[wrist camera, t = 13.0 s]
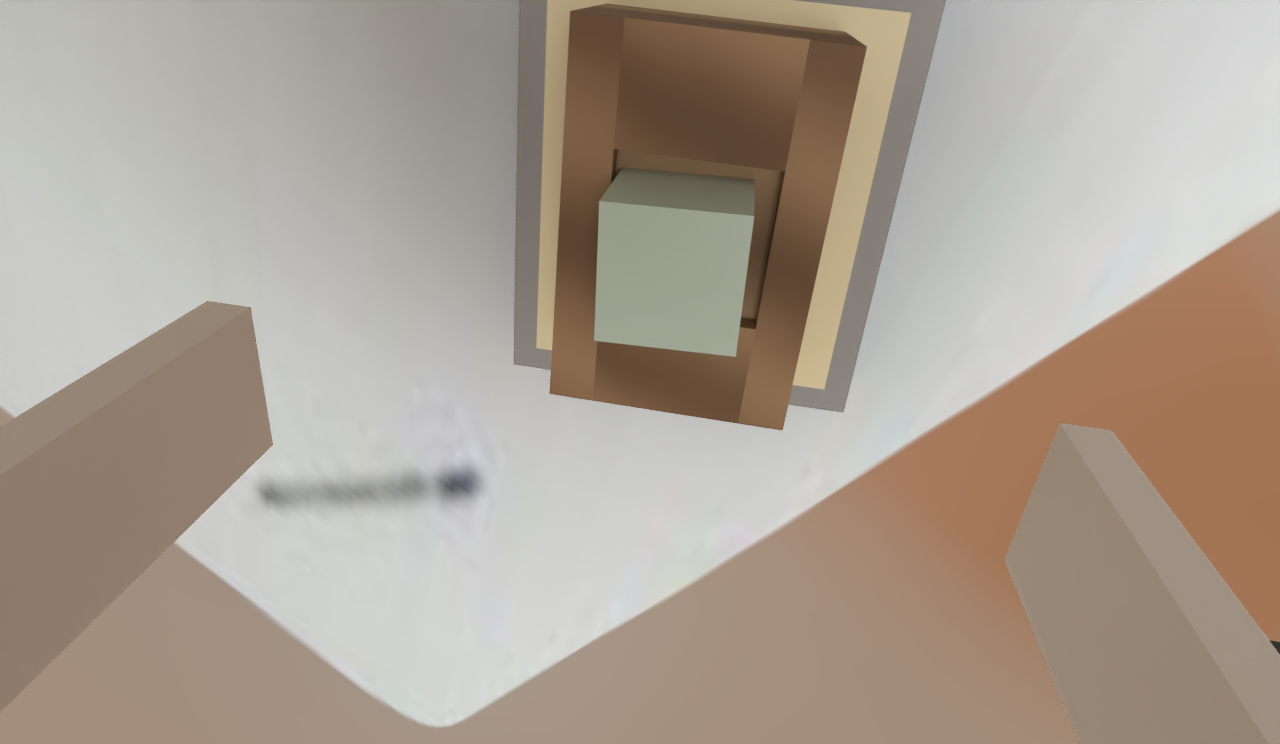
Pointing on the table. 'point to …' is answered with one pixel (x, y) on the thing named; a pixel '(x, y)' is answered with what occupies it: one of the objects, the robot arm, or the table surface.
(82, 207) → the table surface
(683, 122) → the brown open box
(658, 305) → the block
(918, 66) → the panel
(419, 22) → the table surface
